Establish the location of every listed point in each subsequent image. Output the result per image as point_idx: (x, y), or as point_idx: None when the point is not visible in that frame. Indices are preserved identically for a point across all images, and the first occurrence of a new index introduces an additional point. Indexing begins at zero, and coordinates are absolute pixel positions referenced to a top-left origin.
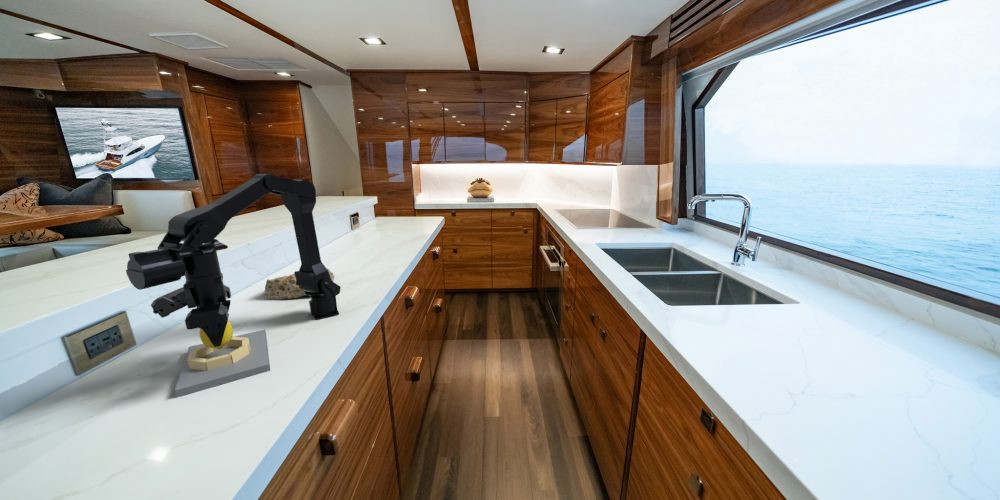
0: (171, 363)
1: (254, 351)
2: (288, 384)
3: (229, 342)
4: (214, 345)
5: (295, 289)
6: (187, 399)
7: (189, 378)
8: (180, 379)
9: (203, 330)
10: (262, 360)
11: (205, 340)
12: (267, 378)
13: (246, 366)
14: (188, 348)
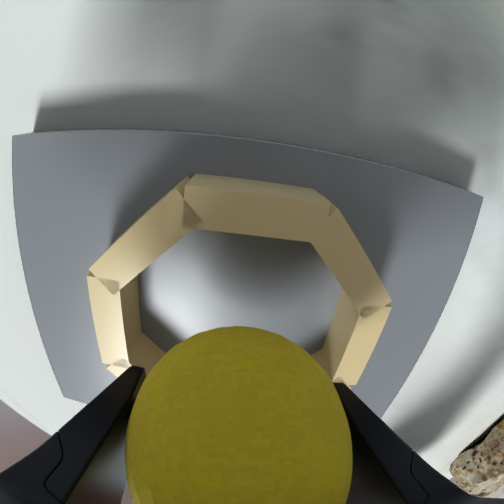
0: (418, 108)
1: None
2: (2, 375)
3: (330, 363)
4: (124, 374)
5: (501, 444)
6: (5, 171)
7: (74, 178)
8: (90, 140)
9: (6, 469)
10: (95, 396)
11: (154, 376)
12: (33, 362)
13: (73, 359)
14: (469, 192)
